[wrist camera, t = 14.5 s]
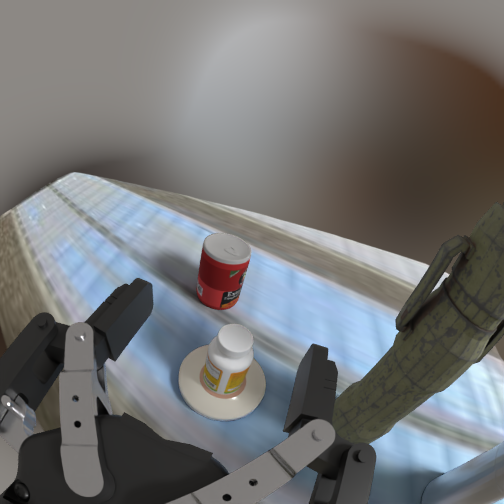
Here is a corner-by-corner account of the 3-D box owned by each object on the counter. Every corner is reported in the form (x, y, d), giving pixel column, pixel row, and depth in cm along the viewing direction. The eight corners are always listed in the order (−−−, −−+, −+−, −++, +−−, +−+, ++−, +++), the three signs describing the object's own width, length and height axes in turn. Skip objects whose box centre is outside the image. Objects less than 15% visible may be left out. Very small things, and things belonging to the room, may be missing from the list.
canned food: (226, 317, 46) (239, 267, 40) (187, 297, 47) (193, 246, 42) (244, 293, 52) (259, 245, 46) (208, 275, 54) (217, 227, 48)
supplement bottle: (244, 367, 37) (262, 324, 31) (239, 399, 32) (257, 362, 27) (207, 358, 36) (216, 313, 31) (198, 390, 32) (206, 350, 27)
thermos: (376, 457, 28) (575, 269, 9) (305, 442, 30) (507, 204, 11) (380, 410, 35) (532, 225, 16) (317, 392, 37) (459, 171, 18)
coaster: (241, 342, 42) (243, 336, 41) (277, 405, 34) (281, 400, 33) (168, 357, 36) (168, 351, 36) (196, 431, 28) (197, 428, 27)
